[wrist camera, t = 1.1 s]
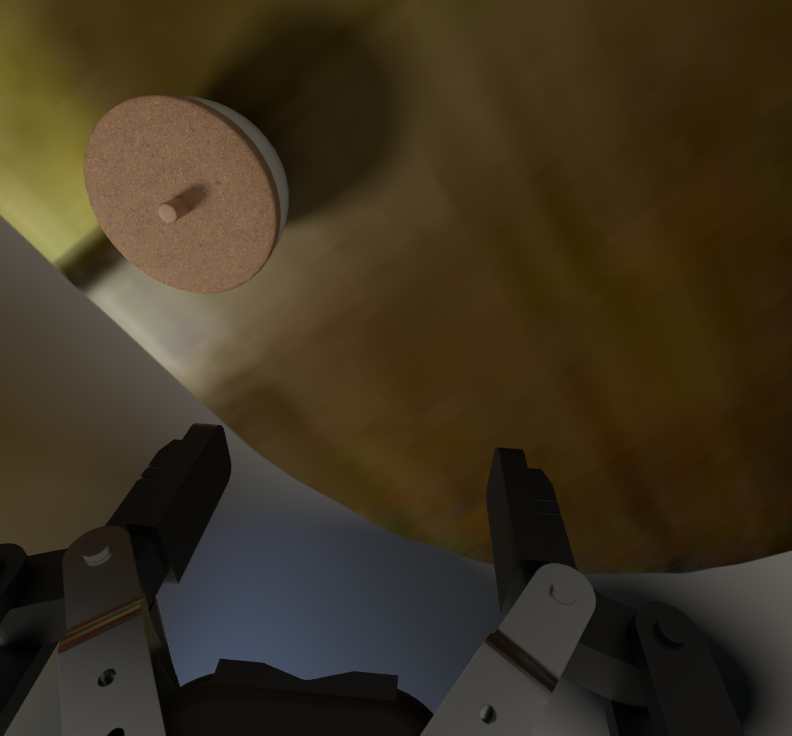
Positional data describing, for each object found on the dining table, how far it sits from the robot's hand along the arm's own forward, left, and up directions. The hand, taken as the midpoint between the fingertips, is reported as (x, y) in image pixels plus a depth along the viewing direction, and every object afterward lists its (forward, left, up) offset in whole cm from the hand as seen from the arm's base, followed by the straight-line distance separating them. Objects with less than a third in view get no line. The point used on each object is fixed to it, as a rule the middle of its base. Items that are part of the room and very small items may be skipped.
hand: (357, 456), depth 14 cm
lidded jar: (+7, -10, -24) cm, 27 cm away
